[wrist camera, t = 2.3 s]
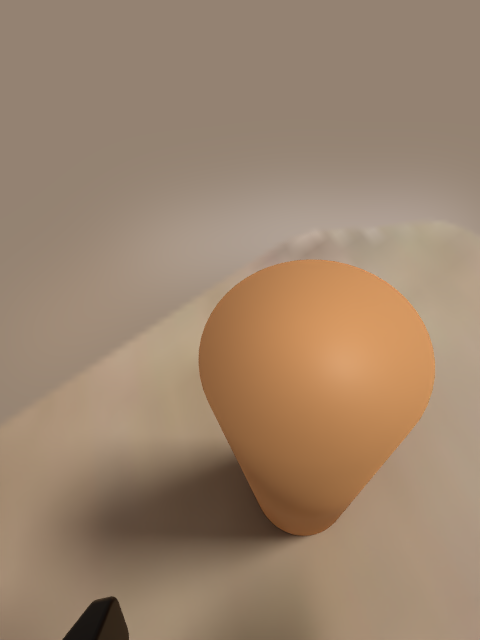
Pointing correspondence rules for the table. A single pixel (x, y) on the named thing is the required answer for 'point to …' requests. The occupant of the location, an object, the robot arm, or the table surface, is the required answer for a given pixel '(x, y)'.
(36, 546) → the table surface
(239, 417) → the pin
